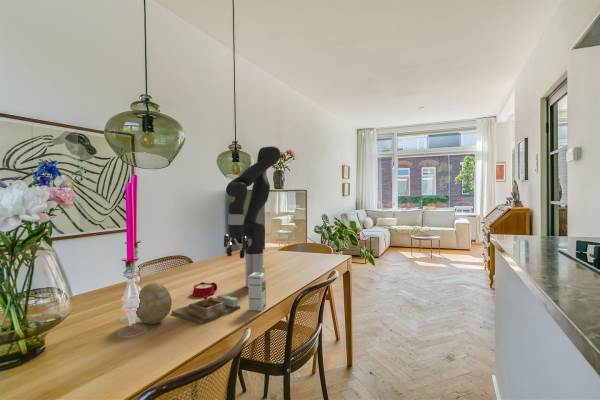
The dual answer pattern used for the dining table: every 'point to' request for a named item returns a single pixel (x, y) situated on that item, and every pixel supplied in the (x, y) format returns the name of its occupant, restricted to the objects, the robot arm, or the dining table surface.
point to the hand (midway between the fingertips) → (235, 257)
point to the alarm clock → (204, 289)
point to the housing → (204, 310)
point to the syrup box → (257, 291)
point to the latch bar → (228, 300)
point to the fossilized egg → (153, 303)
